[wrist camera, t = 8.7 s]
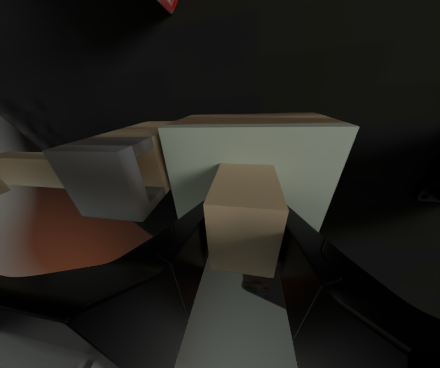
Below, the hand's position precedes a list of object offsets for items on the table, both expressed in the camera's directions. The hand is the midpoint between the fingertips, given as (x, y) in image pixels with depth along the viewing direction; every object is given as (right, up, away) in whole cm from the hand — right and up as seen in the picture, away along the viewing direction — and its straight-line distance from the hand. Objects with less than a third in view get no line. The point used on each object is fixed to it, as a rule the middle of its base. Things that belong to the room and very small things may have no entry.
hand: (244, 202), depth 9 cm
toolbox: (-1, +4, +6) cm, 7 cm away
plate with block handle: (0, +1, +2) cm, 2 cm away
